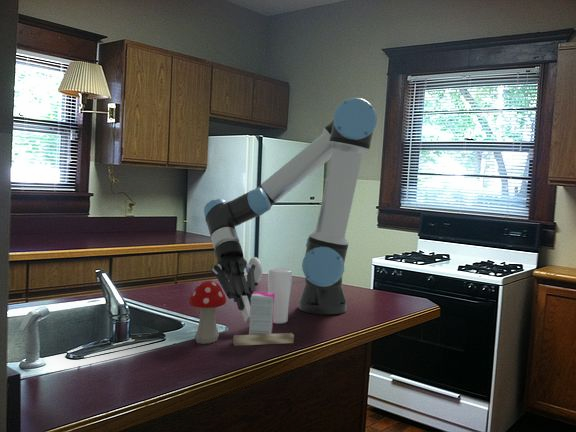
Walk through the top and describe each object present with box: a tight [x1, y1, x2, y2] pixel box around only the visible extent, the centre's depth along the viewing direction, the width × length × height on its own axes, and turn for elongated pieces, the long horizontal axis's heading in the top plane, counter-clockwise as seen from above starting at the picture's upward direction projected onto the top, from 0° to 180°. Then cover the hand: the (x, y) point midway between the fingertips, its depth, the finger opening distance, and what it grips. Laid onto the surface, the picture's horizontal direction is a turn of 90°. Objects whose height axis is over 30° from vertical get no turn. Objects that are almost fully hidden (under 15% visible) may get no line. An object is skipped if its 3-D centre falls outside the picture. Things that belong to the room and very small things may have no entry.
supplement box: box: [248, 290, 275, 335], centre depth 146 cm, size 6×6×12 cm
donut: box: [247, 256, 263, 284], centre depth 220 cm, size 10×4×10 cm, turn 23°
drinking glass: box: [267, 267, 293, 325], centre depth 162 cm, size 7×7×15 cm
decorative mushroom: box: [189, 280, 227, 345], centre depth 142 cm, size 10×9×15 cm
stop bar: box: [232, 332, 295, 347], centre depth 142 cm, size 15×2×2 cm, turn 106°
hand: (249, 319), depth 150 cm, fingers closed
